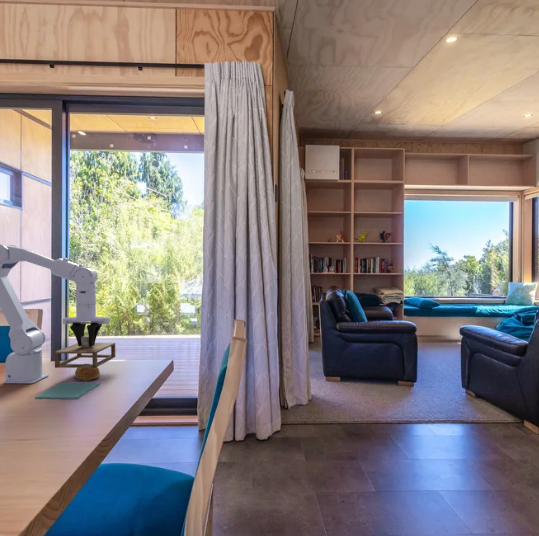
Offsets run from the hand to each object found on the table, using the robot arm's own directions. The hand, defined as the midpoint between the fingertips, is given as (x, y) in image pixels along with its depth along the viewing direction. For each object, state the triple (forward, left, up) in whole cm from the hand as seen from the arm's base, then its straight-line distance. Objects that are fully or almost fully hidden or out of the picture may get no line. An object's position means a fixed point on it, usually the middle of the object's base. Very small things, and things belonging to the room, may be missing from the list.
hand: (86, 345), depth 119 cm
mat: (+2, -13, -10) cm, 17 cm away
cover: (0, 0, -5) cm, 5 cm away
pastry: (0, +1, -11) cm, 11 cm away
